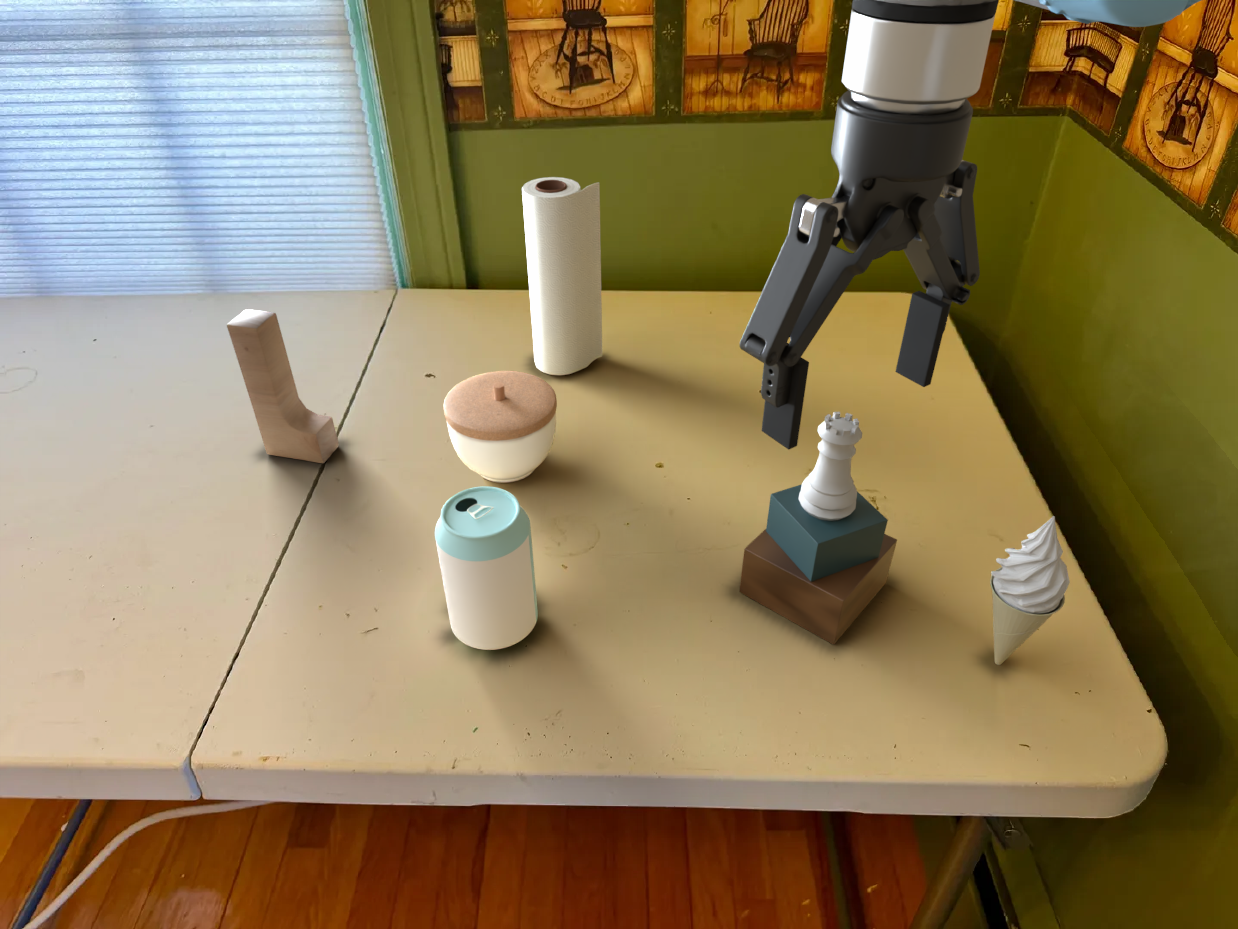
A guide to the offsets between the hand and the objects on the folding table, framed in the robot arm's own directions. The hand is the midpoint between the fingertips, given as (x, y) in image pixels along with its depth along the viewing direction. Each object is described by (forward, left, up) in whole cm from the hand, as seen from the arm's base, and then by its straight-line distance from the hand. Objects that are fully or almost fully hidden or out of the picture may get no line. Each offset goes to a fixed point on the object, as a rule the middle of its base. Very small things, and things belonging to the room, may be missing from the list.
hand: (849, 407), depth 62 cm
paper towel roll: (+43, -2, -19) cm, 47 cm away
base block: (0, 0, -19) cm, 19 cm away
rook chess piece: (0, 0, -10) cm, 10 cm away
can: (+12, +24, -19) cm, 33 cm away
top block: (0, 0, -14) cm, 14 cm away
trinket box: (+30, +13, -19) cm, 38 cm away
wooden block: (+44, +29, -19) cm, 56 cm away
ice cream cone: (-14, -6, -19) cm, 24 cm away
